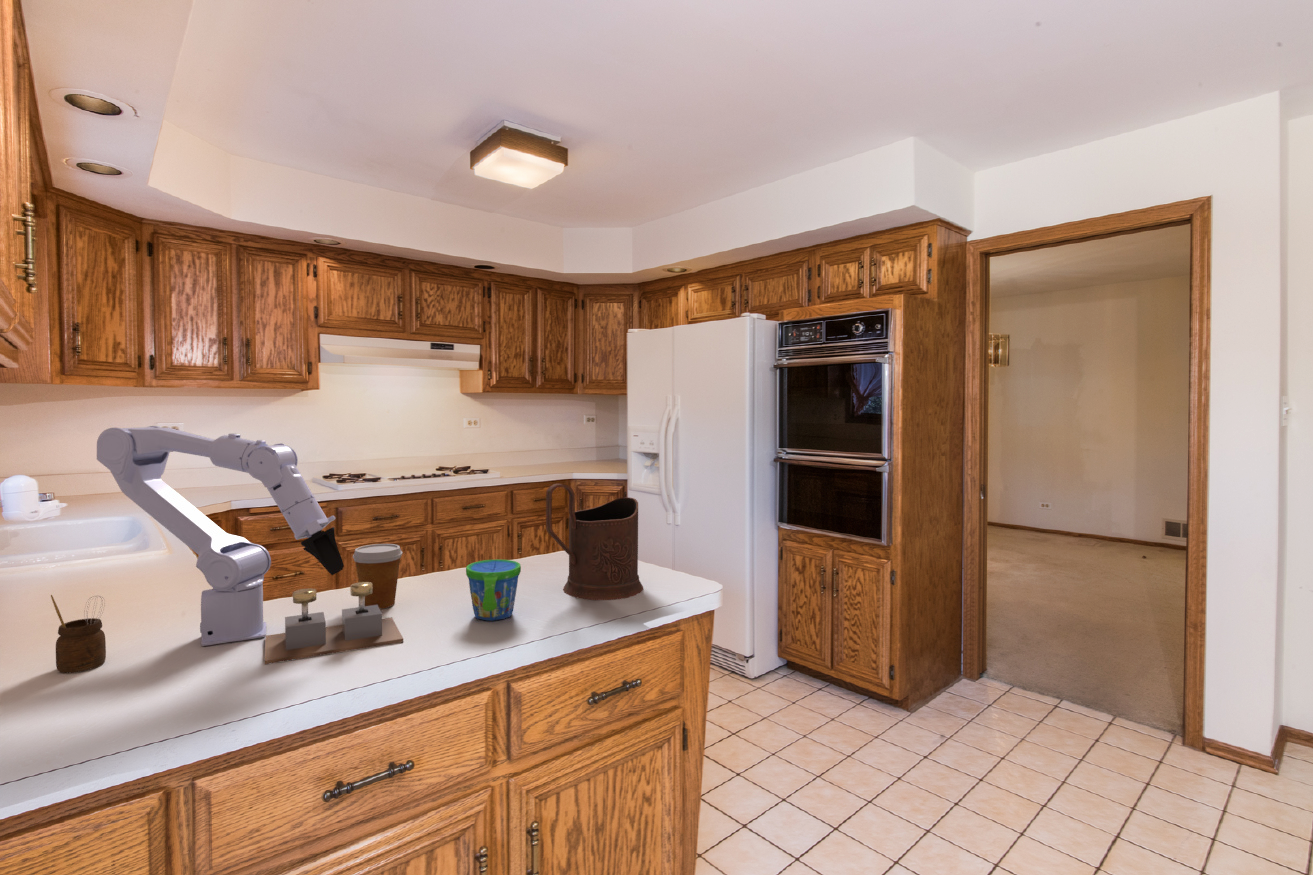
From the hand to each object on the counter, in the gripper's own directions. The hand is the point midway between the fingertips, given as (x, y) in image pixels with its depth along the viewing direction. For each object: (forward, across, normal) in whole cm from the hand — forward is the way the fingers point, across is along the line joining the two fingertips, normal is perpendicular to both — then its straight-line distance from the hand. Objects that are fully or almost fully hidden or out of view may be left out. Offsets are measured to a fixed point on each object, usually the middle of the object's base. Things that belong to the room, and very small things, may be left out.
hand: (338, 571), depth 117 cm
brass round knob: (+9, +1, 0) cm, 9 cm away
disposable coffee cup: (+10, +20, -4) cm, 22 cm away
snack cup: (+23, +4, -20) cm, 30 cm away
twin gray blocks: (+10, +2, +6) cm, 12 cm away
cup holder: (+32, +12, -42) cm, 54 cm away
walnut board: (+10, +2, +6) cm, 12 cm away
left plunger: (+5, +1, +8) cm, 10 cm away
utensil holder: (-7, +6, +38) cm, 39 cm away
